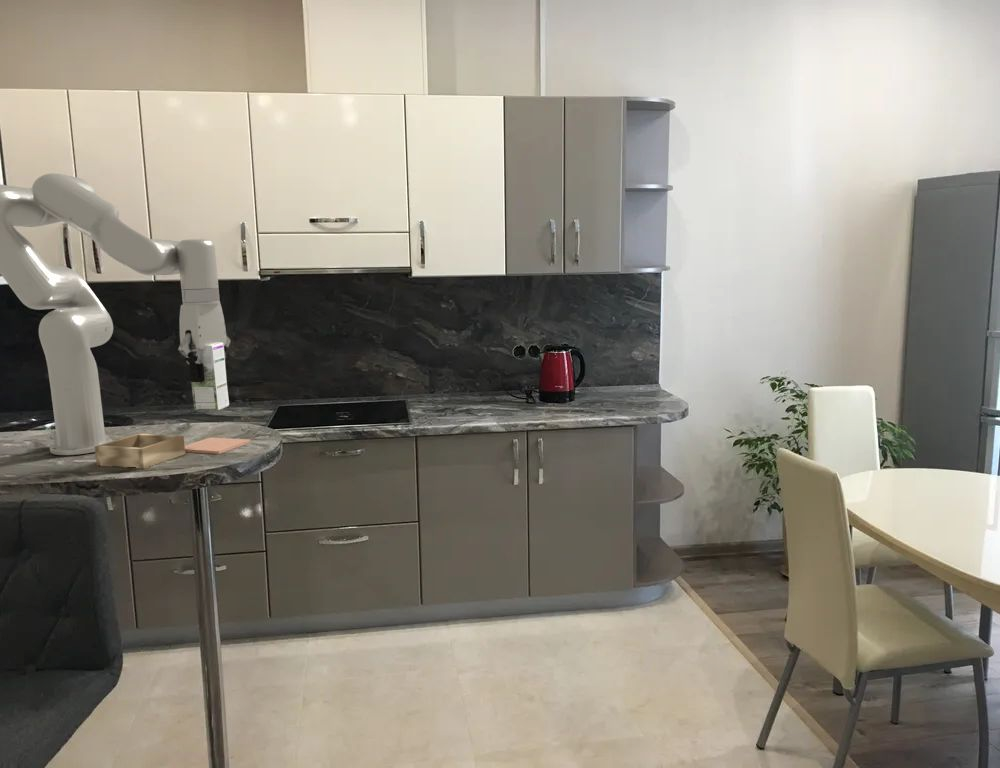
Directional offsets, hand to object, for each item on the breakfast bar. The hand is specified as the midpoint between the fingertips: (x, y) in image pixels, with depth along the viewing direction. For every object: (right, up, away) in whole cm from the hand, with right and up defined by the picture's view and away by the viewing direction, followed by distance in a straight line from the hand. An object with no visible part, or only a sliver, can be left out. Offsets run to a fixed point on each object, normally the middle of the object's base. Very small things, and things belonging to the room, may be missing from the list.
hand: (208, 378), depth 168 cm
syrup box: (0, -7, +1) cm, 7 cm away
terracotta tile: (0, -15, +2) cm, 15 cm away
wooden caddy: (-11, -17, -7) cm, 22 cm away
